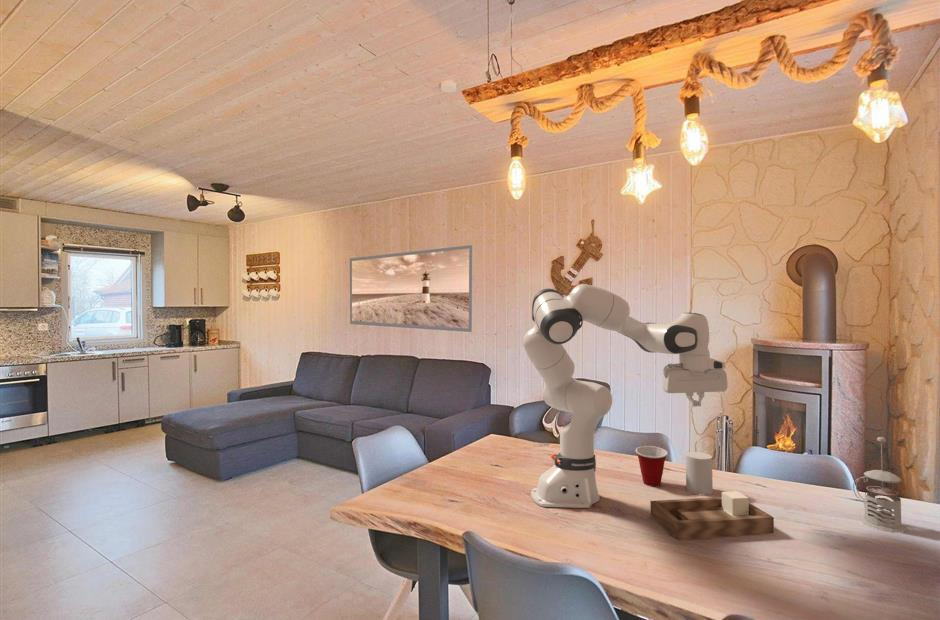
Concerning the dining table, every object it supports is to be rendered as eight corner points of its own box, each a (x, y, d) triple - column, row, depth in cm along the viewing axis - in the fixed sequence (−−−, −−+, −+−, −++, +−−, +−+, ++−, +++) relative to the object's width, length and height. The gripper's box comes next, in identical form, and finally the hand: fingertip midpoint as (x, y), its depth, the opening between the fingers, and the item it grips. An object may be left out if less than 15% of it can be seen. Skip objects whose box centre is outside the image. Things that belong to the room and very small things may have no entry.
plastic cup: (635, 487, 164) (634, 453, 164) (636, 476, 174) (635, 444, 174) (668, 491, 160) (668, 456, 160) (667, 480, 170) (667, 447, 170)
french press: (897, 535, 127) (895, 443, 127) (846, 519, 137) (844, 434, 137) (913, 527, 131) (911, 438, 131) (863, 512, 141) (861, 429, 142)
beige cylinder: (706, 486, 164) (706, 452, 164) (716, 495, 156) (716, 459, 156) (682, 485, 165) (682, 451, 165) (691, 494, 157) (690, 458, 157)
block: (732, 515, 136) (732, 498, 136) (721, 508, 141) (721, 492, 141) (748, 514, 136) (748, 497, 136) (737, 507, 141) (737, 491, 141)
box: (677, 539, 126) (677, 523, 126) (650, 515, 141) (650, 500, 141) (773, 533, 129) (773, 517, 129) (737, 510, 144) (737, 496, 144)
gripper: (668, 365, 146) (669, 409, 146) (730, 363, 148) (731, 407, 148) (658, 362, 152) (659, 405, 152) (717, 361, 154) (718, 403, 154)
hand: (695, 406), depth 150 cm, fingers closed
